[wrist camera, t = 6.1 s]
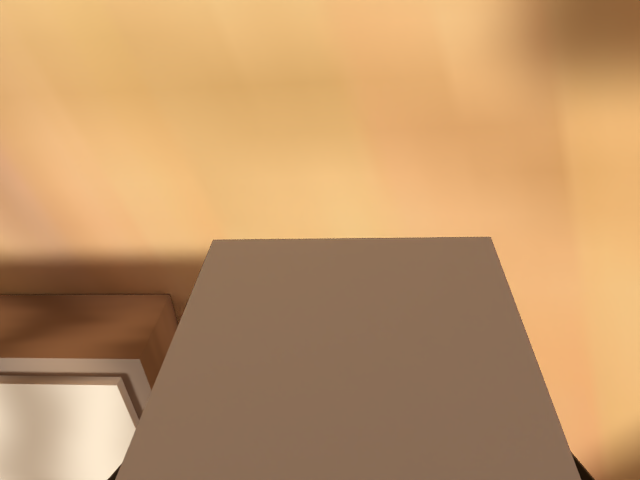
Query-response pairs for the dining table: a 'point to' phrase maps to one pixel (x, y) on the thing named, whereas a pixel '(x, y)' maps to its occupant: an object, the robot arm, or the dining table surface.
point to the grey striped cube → (350, 369)
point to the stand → (76, 380)
